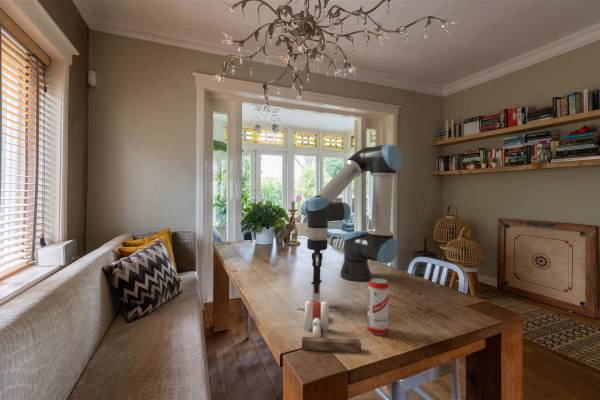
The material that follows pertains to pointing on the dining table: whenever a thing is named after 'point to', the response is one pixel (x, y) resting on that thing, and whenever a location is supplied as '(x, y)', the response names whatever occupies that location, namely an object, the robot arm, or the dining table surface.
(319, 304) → the ball
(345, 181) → the robot arm
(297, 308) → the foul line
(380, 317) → the beer can
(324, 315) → the pin back right
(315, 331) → the pin front
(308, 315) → the pin back left
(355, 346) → the back wall
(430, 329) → the dining table surface
